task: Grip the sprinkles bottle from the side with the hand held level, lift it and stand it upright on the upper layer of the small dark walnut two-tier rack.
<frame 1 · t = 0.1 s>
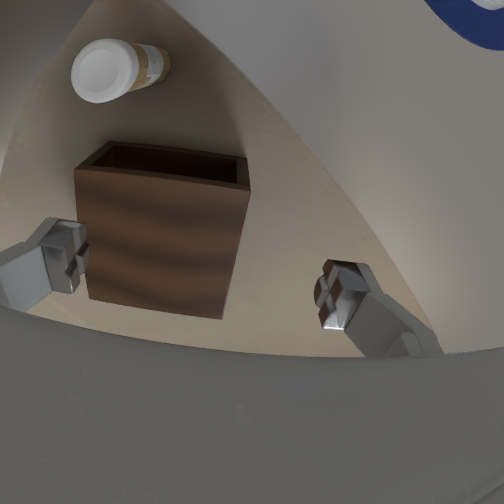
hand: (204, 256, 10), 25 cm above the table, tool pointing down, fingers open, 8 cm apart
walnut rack: (169, 210, 36), on the table
sprinkles bottle: (151, 65, 26), on the table
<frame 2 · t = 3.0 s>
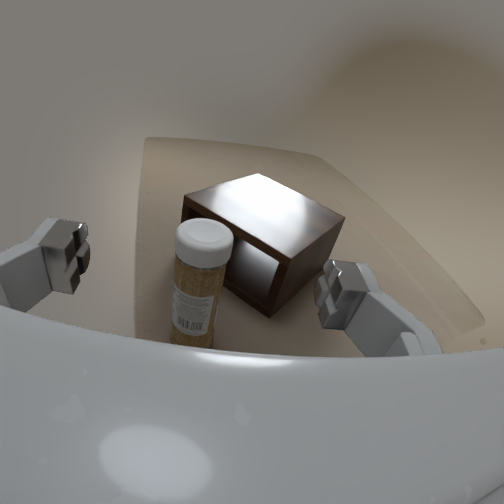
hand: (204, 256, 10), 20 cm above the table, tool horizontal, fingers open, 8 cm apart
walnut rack: (255, 259, 45), on the table
sprinkles bottle: (190, 339, 31), on the table
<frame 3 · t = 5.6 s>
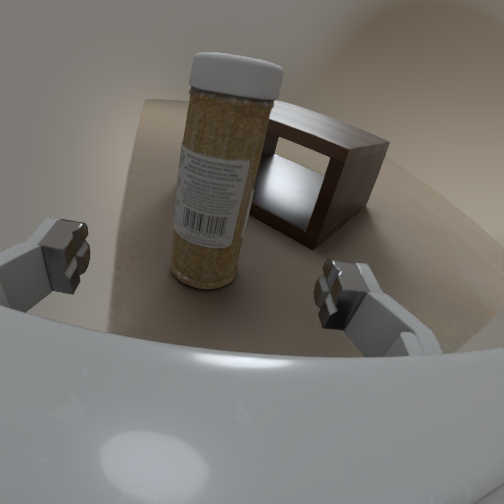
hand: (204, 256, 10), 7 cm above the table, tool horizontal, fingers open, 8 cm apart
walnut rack: (283, 191, 34), on the table
sprinkles bottle: (201, 271, 20), on the table
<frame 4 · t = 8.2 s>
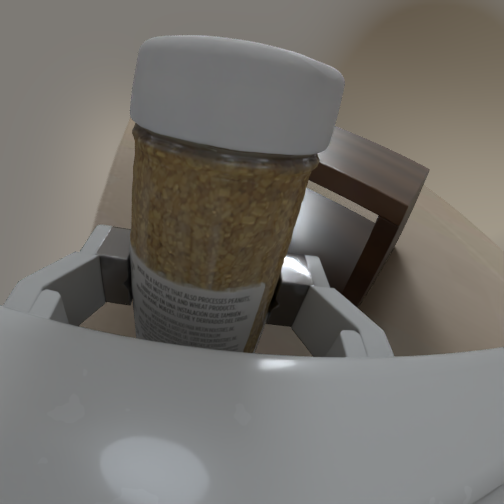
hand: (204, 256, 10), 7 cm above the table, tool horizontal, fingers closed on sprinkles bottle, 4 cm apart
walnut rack: (297, 233, 27), on the table
sprinkles bottle: (189, 389, 13), on the table, touching gripper
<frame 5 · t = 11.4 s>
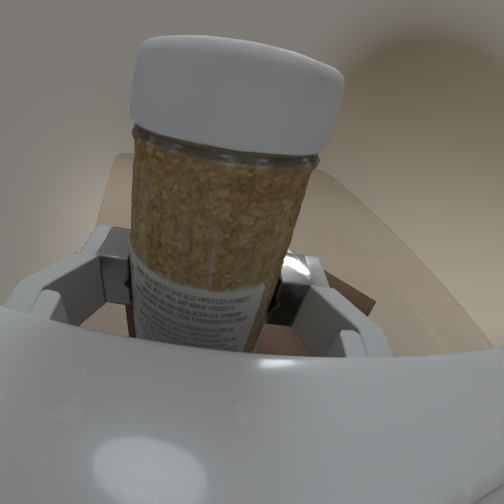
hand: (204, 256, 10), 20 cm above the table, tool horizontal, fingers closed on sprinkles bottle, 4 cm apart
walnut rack: (243, 359, 30), on the table
sprinkles bottle: (188, 389, 13), point 13 cm above the table, touching gripper
when the fingers open (16 cm above the table, at t = 14.9 s): sprinkles bottle stays where it is, resting on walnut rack.
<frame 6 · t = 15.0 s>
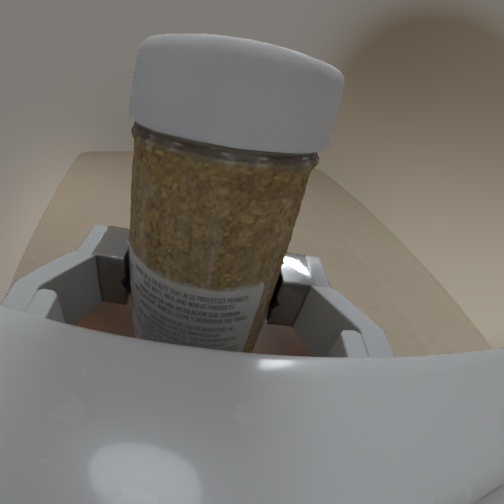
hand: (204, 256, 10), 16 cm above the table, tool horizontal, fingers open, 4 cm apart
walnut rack: (182, 442, 18), on the table
sprinkles bottle: (188, 389, 13), point 9 cm above the table, touching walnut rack
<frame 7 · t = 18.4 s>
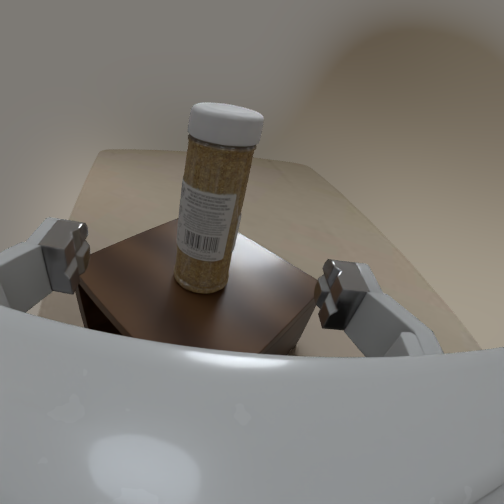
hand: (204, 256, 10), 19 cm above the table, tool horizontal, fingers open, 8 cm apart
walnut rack: (191, 342, 30), on the table
sprinkles bottle: (199, 278, 25), point 9 cm above the table, touching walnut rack
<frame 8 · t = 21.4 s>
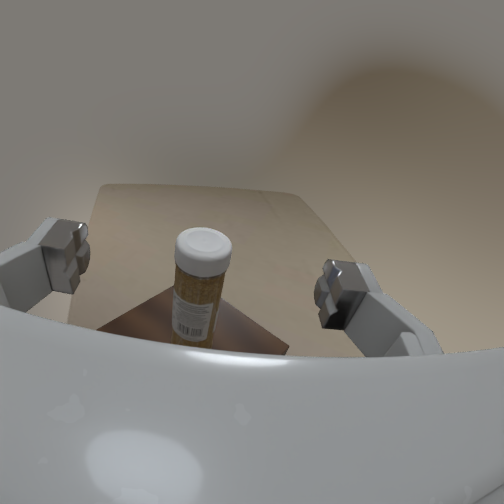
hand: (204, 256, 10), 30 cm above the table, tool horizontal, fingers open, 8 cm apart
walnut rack: (186, 382, 37), on the table
sprinkles bottle: (190, 344, 32), point 9 cm above the table, touching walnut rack
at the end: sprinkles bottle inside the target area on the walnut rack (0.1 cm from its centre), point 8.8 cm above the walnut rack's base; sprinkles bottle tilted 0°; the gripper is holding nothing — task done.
